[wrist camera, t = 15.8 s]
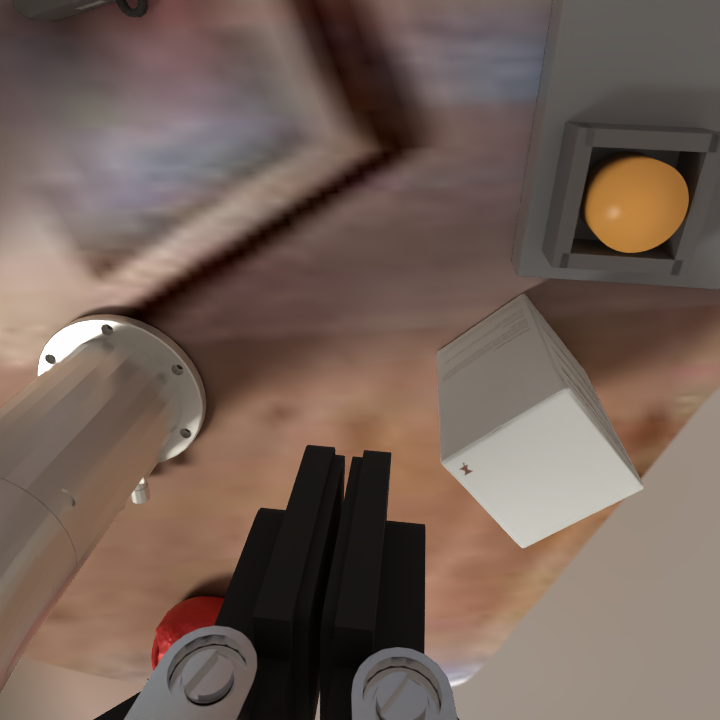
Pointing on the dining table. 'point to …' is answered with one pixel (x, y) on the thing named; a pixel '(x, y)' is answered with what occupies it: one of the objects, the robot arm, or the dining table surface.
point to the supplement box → (527, 426)
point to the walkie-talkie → (71, 8)
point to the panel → (624, 136)
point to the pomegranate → (184, 623)
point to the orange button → (633, 201)
